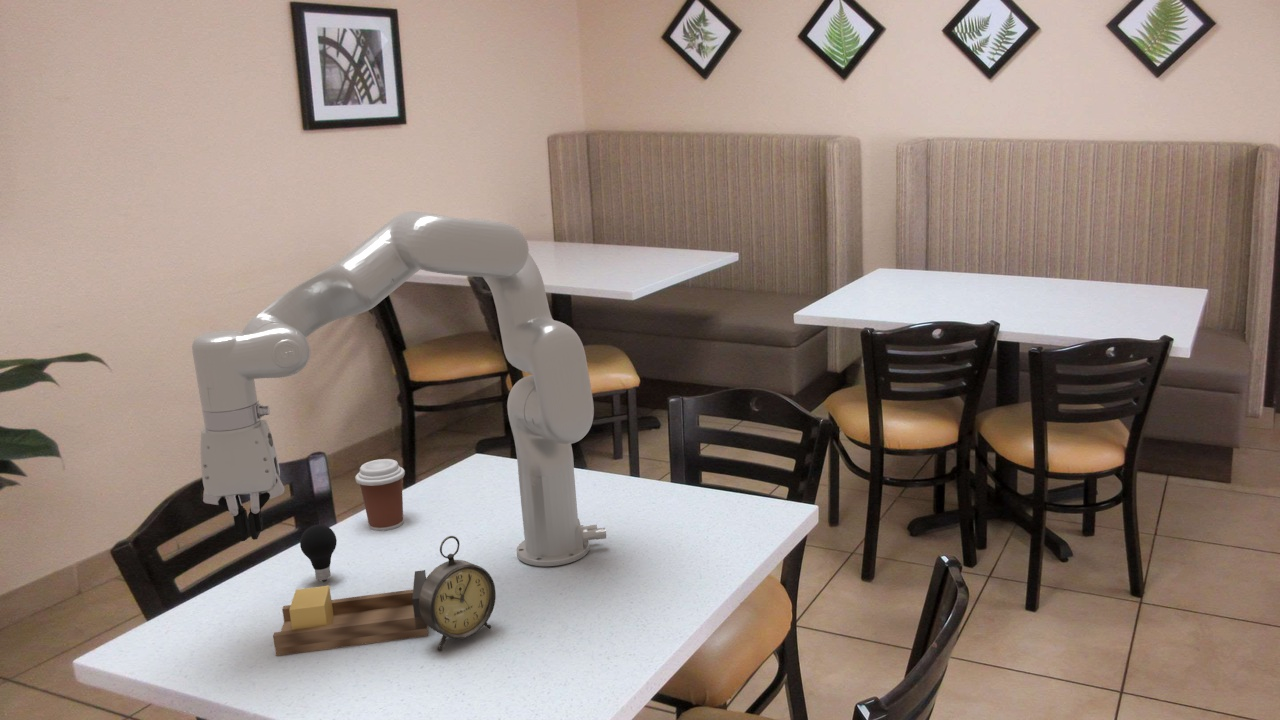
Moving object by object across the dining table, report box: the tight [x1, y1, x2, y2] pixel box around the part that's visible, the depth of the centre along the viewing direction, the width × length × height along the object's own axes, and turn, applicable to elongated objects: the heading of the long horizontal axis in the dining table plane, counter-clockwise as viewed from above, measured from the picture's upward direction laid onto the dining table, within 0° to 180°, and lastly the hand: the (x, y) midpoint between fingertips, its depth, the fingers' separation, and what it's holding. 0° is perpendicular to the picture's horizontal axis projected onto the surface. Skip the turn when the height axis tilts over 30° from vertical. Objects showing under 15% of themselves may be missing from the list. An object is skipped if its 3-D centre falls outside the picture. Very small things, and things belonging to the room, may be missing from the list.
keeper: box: [289, 585, 334, 630], centre depth 165 cm, size 5×7×5 cm
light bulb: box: [299, 524, 338, 582], centre depth 184 cm, size 6×6×10 cm
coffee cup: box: [354, 458, 406, 532], centre depth 207 cm, size 9×9×12 cm
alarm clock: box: [419, 535, 497, 652], centre depth 160 cm, size 11×5×16 cm, turn 131°
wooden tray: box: [272, 569, 429, 657], centre depth 166 cm, size 22×10×6 cm, turn 99°
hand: (250, 536), depth 161 cm, fingers closed
